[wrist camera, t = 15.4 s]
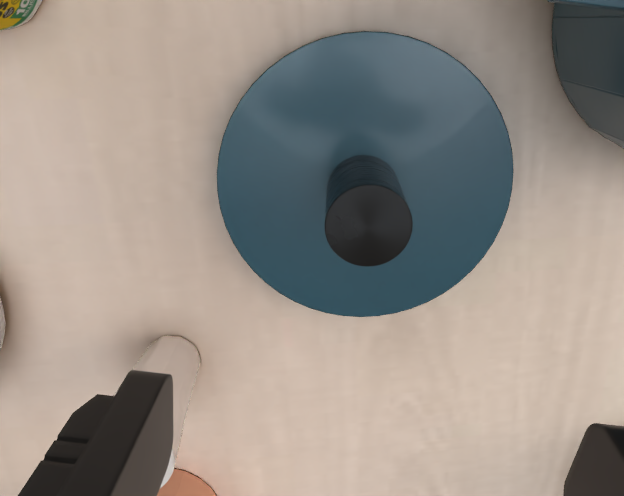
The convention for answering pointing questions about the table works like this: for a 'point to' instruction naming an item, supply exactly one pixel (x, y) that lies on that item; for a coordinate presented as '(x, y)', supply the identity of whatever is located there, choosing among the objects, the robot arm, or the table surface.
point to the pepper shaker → (185, 485)
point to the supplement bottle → (16, 12)
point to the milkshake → (183, 367)
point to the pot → (592, 61)
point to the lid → (365, 174)
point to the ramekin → (2, 324)
